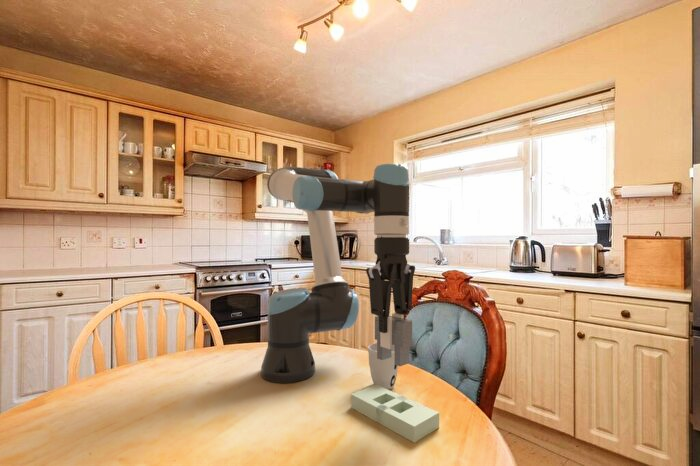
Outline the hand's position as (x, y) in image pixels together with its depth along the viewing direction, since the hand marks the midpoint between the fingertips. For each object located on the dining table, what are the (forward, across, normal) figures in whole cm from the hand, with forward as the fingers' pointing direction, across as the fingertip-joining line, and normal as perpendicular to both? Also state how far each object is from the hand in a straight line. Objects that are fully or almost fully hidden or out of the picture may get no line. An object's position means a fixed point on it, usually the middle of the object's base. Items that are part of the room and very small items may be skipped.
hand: (392, 345), depth 75 cm
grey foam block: (+3, 0, 0) cm, 3 cm away
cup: (+16, +10, +12) cm, 22 cm away
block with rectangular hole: (+15, 0, 0) cm, 15 cm away
